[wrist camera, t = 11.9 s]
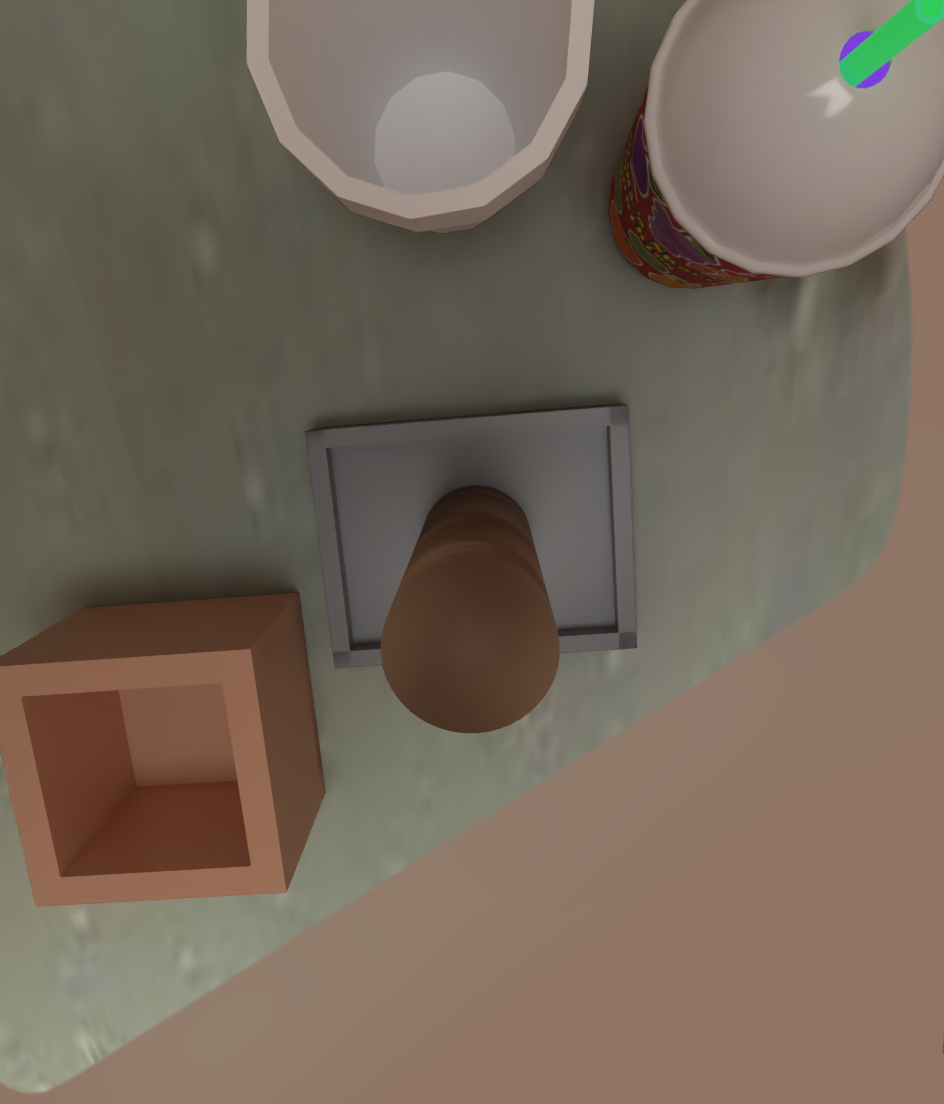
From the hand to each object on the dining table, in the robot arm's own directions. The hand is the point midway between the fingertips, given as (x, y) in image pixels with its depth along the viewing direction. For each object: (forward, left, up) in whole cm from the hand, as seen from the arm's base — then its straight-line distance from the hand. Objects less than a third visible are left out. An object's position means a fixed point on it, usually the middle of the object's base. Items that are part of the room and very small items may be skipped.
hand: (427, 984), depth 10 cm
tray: (0, 0, -28) cm, 29 cm away
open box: (-14, -8, -28) cm, 33 cm away
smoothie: (+10, +13, -29) cm, 33 cm away
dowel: (0, 0, -28) cm, 28 cm away
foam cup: (0, +16, -29) cm, 33 cm away
